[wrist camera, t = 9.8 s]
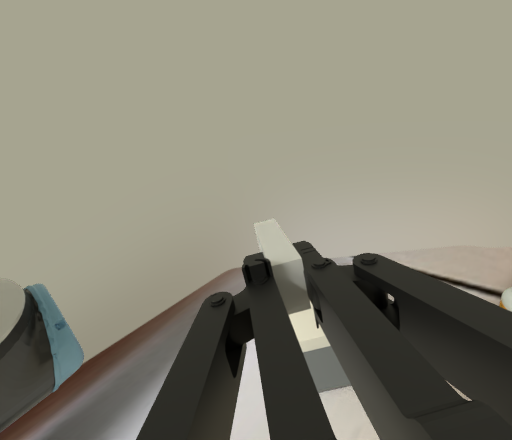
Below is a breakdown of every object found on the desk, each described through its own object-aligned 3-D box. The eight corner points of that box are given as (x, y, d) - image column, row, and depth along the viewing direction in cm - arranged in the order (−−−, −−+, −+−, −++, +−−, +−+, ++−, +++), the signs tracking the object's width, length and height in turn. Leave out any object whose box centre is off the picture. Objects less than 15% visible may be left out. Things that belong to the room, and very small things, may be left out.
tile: (371, 324, 35) (336, 264, 48) (287, 344, 36) (274, 280, 48) (372, 336, 36) (337, 274, 49) (291, 355, 37) (277, 289, 50)
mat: (409, 372, 32) (409, 369, 31) (284, 400, 32) (284, 398, 32) (347, 272, 50) (346, 270, 49) (268, 292, 50) (267, 290, 50)
